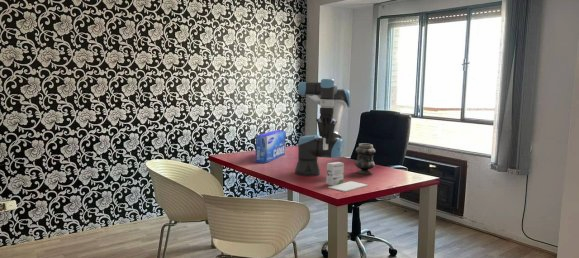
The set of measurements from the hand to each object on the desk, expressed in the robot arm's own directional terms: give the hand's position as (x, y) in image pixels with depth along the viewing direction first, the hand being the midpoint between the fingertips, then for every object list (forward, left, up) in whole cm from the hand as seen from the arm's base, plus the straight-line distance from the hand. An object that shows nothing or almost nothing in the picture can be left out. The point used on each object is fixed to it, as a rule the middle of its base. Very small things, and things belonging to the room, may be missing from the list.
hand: (325, 149), depth 244 cm
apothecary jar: (+2, +36, -18) cm, 41 cm away
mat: (+16, 0, -18) cm, 24 cm away
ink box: (+7, 0, -18) cm, 20 cm away
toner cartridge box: (-71, +26, -19) cm, 78 cm away
